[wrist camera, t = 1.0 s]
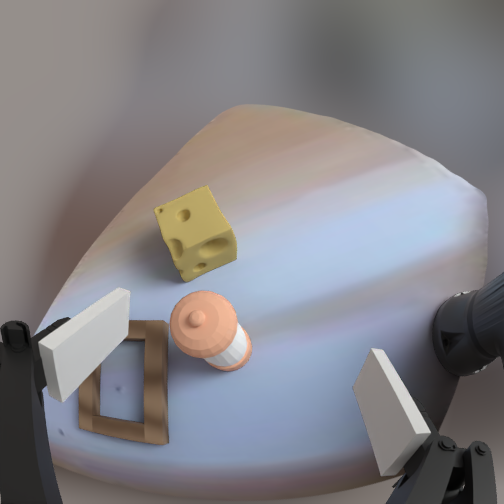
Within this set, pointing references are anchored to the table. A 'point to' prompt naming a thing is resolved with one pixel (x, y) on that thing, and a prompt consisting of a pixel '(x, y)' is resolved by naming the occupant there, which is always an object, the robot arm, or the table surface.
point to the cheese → (196, 233)
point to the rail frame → (154, 390)
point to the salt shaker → (210, 330)
